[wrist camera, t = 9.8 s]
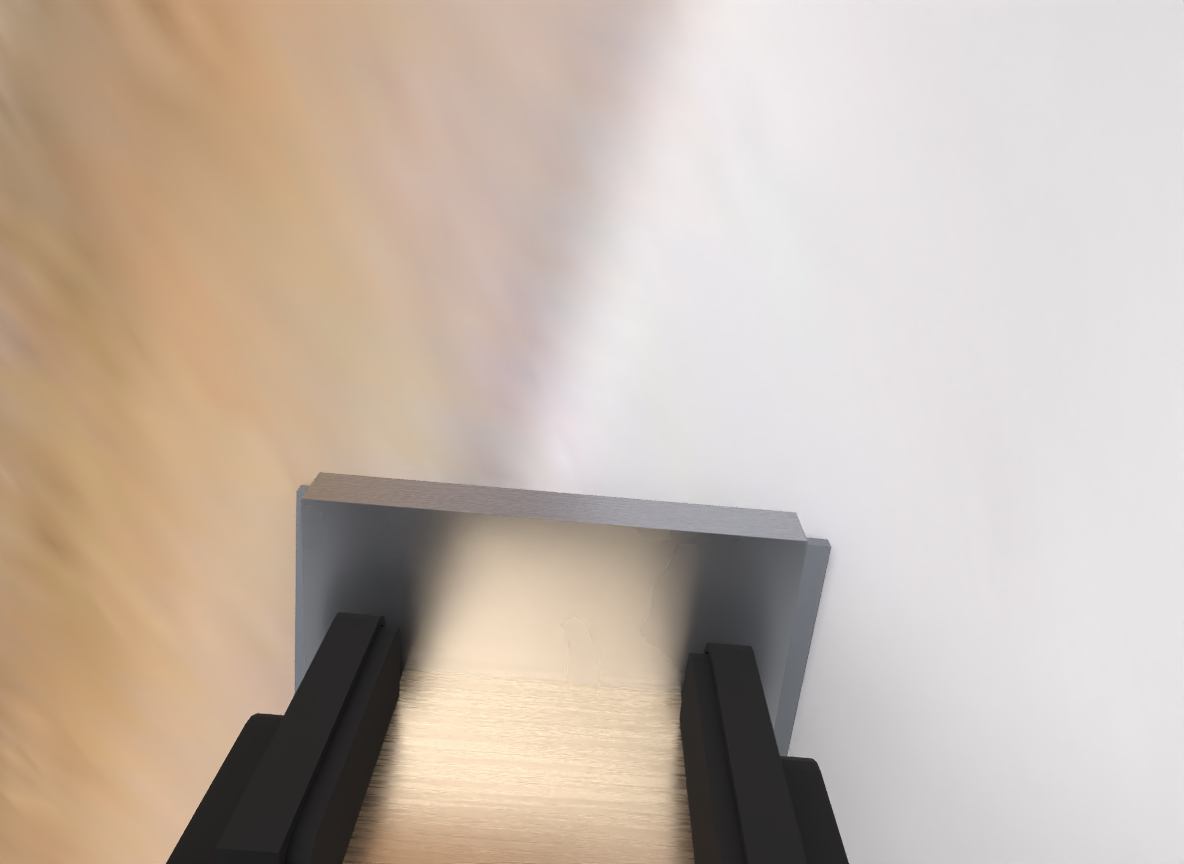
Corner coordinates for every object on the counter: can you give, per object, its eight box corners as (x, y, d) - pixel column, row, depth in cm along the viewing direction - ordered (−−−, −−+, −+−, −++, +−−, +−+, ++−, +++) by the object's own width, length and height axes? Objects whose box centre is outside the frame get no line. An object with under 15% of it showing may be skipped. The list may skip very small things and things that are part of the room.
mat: (827, 539, 19) (830, 547, 18) (729, 1007, 23) (731, 1019, 22) (301, 484, 18) (296, 491, 18) (295, 968, 22) (292, 979, 22)
